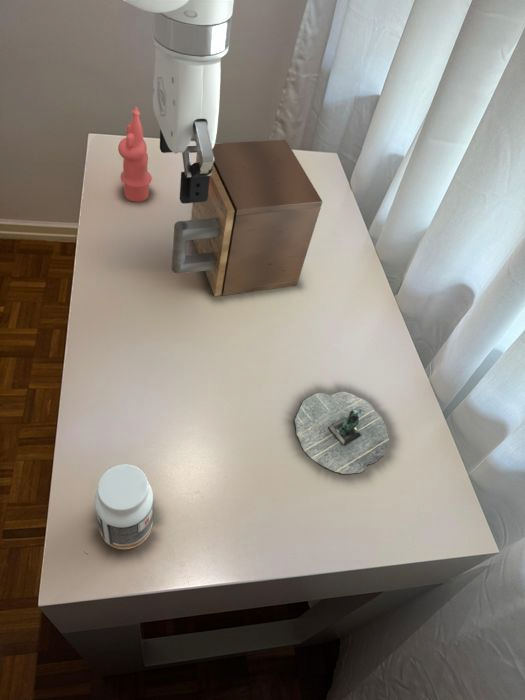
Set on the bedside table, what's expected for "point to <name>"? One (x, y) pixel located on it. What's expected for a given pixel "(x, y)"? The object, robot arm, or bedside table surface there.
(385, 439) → the sculpture
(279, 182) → the cabinet
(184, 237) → the door
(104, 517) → the pill bottle
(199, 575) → the bedside table surface
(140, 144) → the figurine
